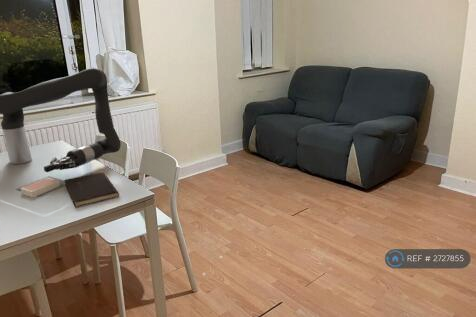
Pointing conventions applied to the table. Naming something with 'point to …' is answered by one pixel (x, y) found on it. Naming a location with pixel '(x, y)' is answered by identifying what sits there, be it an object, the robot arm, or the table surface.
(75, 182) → the hardcover book
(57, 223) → the table surface
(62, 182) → the charcoal mat
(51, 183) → the cream box
